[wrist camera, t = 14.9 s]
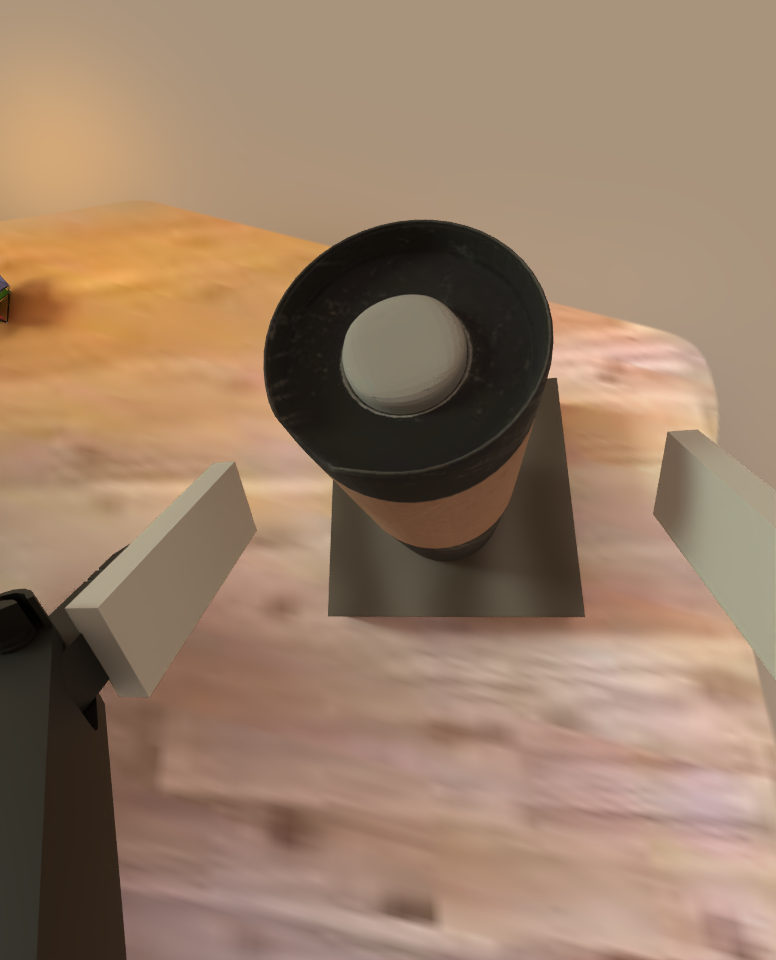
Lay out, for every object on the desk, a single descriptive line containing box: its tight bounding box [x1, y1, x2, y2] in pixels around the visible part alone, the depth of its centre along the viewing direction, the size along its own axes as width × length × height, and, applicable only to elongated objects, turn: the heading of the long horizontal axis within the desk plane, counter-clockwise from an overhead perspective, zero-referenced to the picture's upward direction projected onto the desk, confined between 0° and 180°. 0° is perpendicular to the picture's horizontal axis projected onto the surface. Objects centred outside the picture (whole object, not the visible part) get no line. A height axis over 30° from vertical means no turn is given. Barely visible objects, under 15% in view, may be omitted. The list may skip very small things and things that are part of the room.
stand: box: [328, 378, 585, 617], centre depth 32 cm, size 16×16×4 cm
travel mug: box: [264, 220, 553, 562], centre depth 21 cm, size 8×8×20 cm
